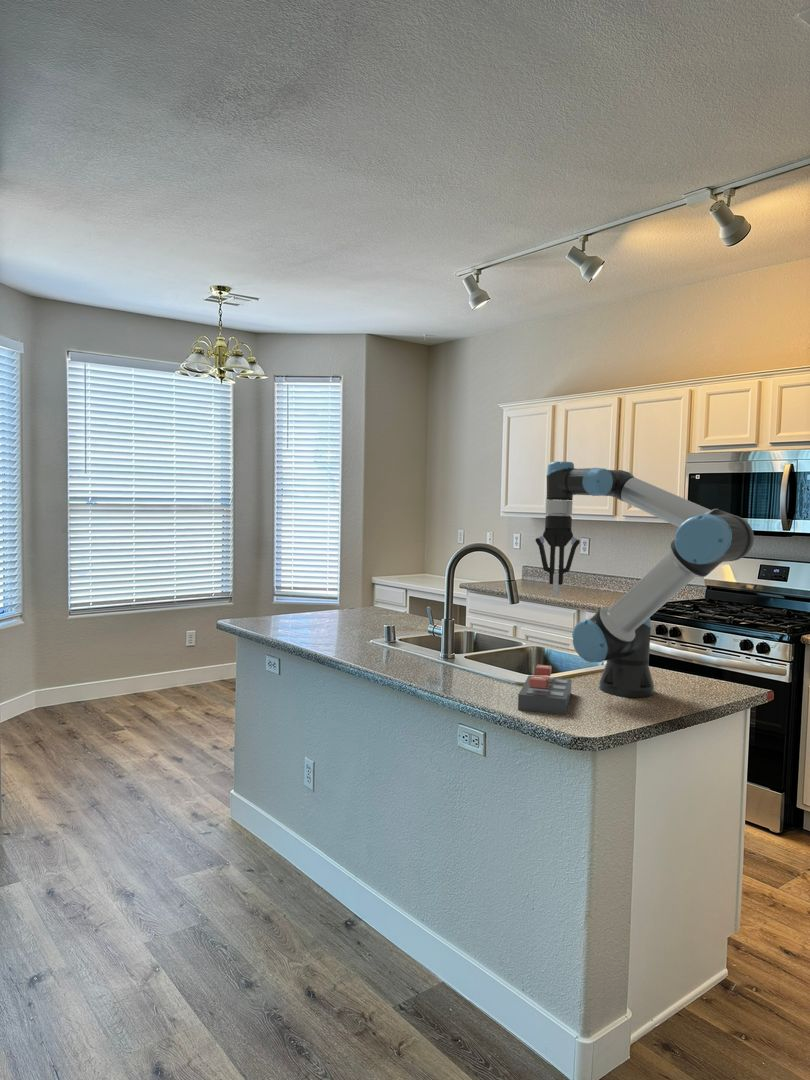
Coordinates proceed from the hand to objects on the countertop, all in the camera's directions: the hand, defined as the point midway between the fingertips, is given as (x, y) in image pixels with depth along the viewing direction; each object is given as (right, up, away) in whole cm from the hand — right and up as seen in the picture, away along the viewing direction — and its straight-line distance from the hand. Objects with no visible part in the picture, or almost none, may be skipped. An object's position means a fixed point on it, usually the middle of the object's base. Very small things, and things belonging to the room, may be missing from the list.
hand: (555, 595), depth 218 cm
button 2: (-7, -23, -17) cm, 29 cm away
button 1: (-5, -21, -10) cm, 24 cm away
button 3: (-9, -22, -23) cm, 33 cm away
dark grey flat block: (-6, -27, -15) cm, 32 cm away
